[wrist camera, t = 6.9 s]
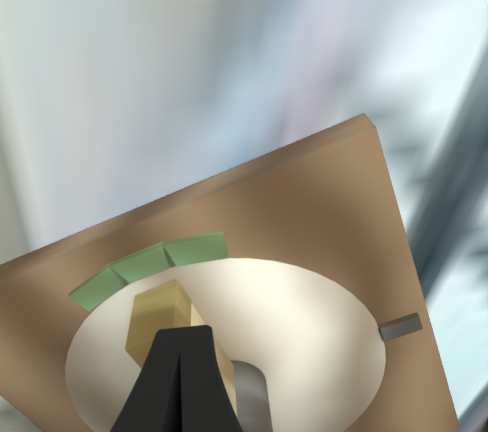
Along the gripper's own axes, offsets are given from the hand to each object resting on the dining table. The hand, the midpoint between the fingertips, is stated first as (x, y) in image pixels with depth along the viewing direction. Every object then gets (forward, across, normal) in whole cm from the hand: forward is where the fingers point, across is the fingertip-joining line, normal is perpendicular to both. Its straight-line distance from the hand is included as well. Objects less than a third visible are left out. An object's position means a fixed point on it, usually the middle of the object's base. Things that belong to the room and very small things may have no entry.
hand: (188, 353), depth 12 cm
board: (+9, 0, +12) cm, 15 cm away
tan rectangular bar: (+8, 0, +9) cm, 12 cm away
